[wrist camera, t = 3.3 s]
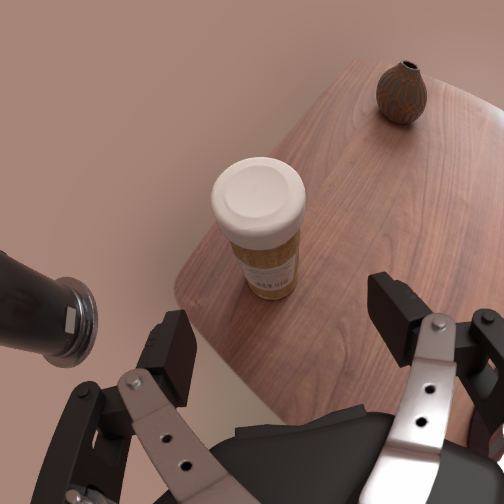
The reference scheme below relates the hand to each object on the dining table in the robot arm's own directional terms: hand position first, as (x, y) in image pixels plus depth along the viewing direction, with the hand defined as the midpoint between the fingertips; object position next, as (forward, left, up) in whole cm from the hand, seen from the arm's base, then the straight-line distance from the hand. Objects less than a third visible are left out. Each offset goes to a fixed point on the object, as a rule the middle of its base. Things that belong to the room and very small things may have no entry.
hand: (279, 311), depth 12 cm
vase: (+6, +32, -13) cm, 35 cm away
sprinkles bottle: (-3, +5, -13) cm, 14 cm away
